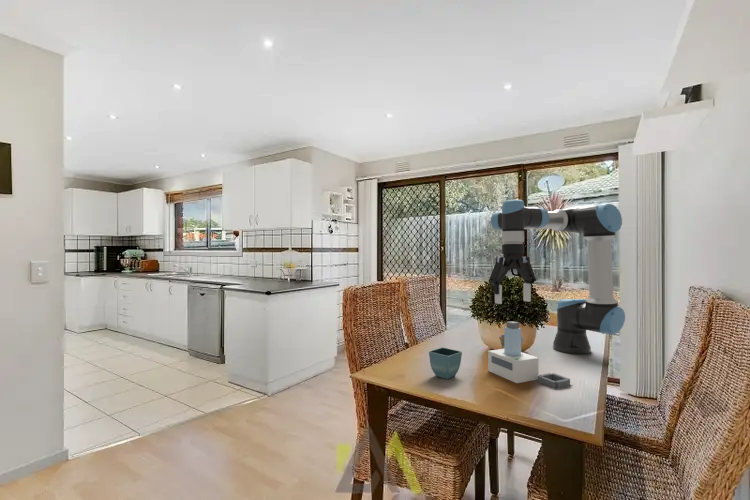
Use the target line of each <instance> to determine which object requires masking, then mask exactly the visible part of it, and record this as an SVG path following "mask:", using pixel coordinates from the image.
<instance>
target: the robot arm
mask: <svg viewBox="0 0 750 500" xmlns="http://www.w3.org/2000/svg"><path fill="white" fill-rule="evenodd" d="M501 206H502V207H501V210H499V211H496V212H494V213H493V214H492V215H491V217H490V224H491V227H492V228H493V229H494V230H500V231H501V242H502V245H501V255H502V254H503V256H496V257H495V263H494V266H493V267H492V270H491V271H492V272H491V274H490V276H489V279H488V283H489V284H491V285H492V286H493V294H494V304H498V305H502V304H503V285H501V283H502V282H503V280H504V279H505V277H506V275H507V274H508V273H509V271H510V270H517V272H518V273H519V275H520V277H521V278H522V279H523V280H524V283H523V282H522V283H523V285H522V286H523V298H522V299H523V302H528V303H529V302H531V299H532V297H531V296H532V293H531V292H532V291H533V290H532V287H533V285H534V284H535V282H537V277H536V275H535V272H534V269H533V267H532V264H531V258H530V256H523V255H524V254H525V244H524V243H525V230H552V231H554V232H566V233H567V232H568V233H575V234H576V233H578V234H582V237H583V238H584V239H585V240H586V242H587V265H588V266H587V268H588V292H589V293H588V294H589V296H588V297H587V298H586V299H585V298H572V299H571V298H569V299H560V300H558V302H557V305H556V311H557V312H556V317H557V318H556V320H557V322H556V323H557V324H556V325H557V331H556V334H555V336H554V339H553V340H554V341H553V342H552V347H553V349H554V350H555V351H558V352H561V353H565V354H573V355H574V354H575V355H588V354H590V353H591V352H592V351H591V345H590V341H589V339H588V336H587V331H591V332H596V333H600V334H602V335H615V334H617V333H619V332H620V331H621V330H622V328H623V327H624V324H625V320H626V313H625V311H624V309H623V308H622V307H620V306H619V302H618V300H616V298H614V285H613V284H614V280H613V278H614V277H613V251H612V249H613V248H612V240H613V239H614V238H615V237H616V232H619V231H620V229H621V228H622V226H623V225H622V224H623V218H622V214H621V211H620V209H618V207H617V206H616V205H614V204H612V203H597V204H589V205H583V206H574V207H568V208H564V209H563V208H562V209H555V210H553V211H548V210H547V209H545V208H542V207H533V206H532V207H528V206H525V202H524V200H522V199H510V200H509V199H508V200H505V201H503V202H502V205H501ZM532 284H533V285H532Z"/></svg>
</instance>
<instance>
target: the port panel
mask: <svg viewBox="0 0 750 500" xmlns="http://www.w3.org/2000/svg"><path fill="white" fill-rule="evenodd" d="M487 355H488V356H487V357H488V358H487V361H488V362H487V363H488V367H487V369H488V370H487V371H488V372H489V373H493V374H494V375H497V376H499V377H501V378H504V379H506V380H508V381H511V382H513V383H515V384H520V383H525V382H531V381H538V376H539V375H540V374H539V366H540V364H539V362H540V361H539V359H540V358H539V357H537V356H535V355H532V354H528V353H525V352H522V351H521V356H516V357H511V356H508V355H505V354H504V349H502V348H498V349H491V350H488V351H487Z"/></svg>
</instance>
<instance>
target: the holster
mask: <svg viewBox="0 0 750 500" xmlns="http://www.w3.org/2000/svg"><path fill="white" fill-rule="evenodd" d="M535 382H537V383H539V384H541V385H543V386H547V387H549V388H551V389H554V390H558V389H564V388H568V387H573V384H571V378H569V377H566V376H564V375H563V376H562V375H560V374H558V373H554V372H553V373H551V372H547V373H543V374H538V379H537V380H535Z"/></svg>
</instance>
